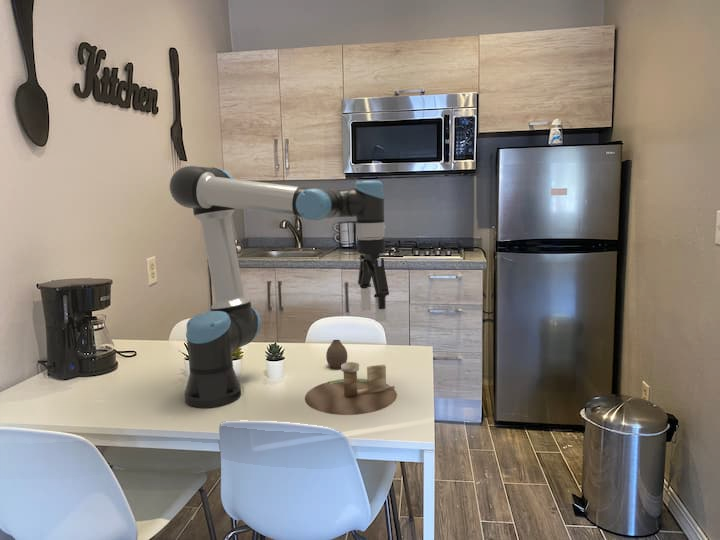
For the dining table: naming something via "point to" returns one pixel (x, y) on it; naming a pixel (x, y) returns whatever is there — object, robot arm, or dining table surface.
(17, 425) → the dining table surface
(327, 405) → the brown wooden flat disc
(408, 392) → the dining table surface
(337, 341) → the vase
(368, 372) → the peg lever
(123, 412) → the dining table surface
